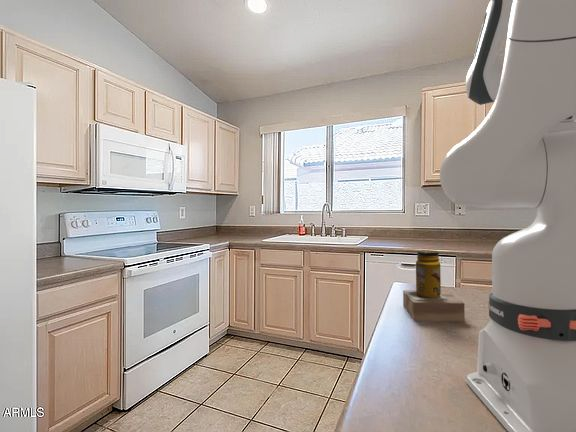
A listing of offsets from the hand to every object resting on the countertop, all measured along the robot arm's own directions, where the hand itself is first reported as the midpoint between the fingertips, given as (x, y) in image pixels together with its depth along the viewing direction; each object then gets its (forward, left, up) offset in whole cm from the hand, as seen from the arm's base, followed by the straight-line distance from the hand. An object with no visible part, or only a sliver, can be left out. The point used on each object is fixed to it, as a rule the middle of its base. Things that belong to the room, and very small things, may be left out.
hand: (528, 176), depth 78 cm
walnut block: (+2, +22, -36) cm, 42 cm away
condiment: (+2, +23, -31) cm, 39 cm away
